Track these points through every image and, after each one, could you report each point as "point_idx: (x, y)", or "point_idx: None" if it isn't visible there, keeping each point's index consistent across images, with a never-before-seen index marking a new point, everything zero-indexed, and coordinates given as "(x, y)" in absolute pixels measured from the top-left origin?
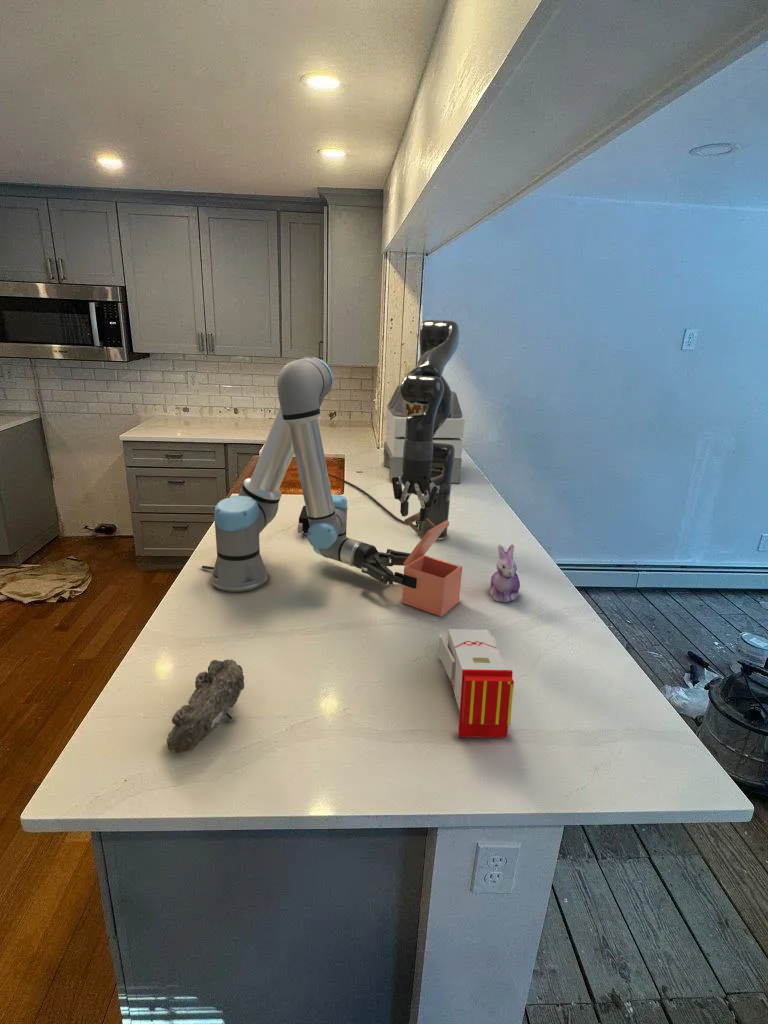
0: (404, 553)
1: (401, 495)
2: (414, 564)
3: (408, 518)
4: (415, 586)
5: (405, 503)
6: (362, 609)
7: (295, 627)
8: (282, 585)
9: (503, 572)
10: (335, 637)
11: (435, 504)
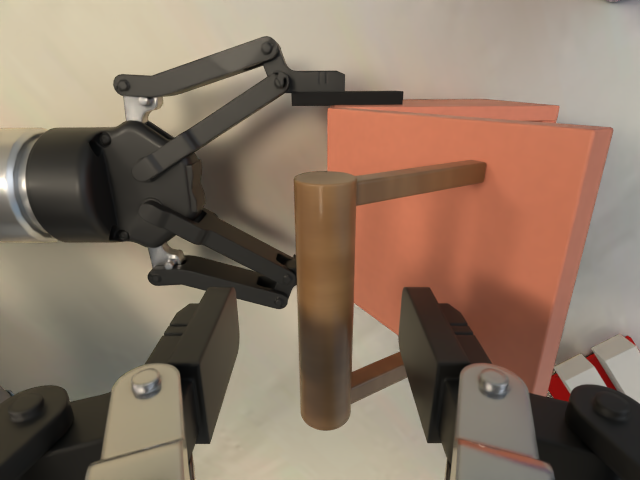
0: (207, 72)
1: (80, 477)
2: None
3: (329, 417)
4: None
5: (208, 426)
6: (265, 317)
7: (204, 451)
8: (8, 345)
9: None
10: (297, 433)
11: (633, 408)
